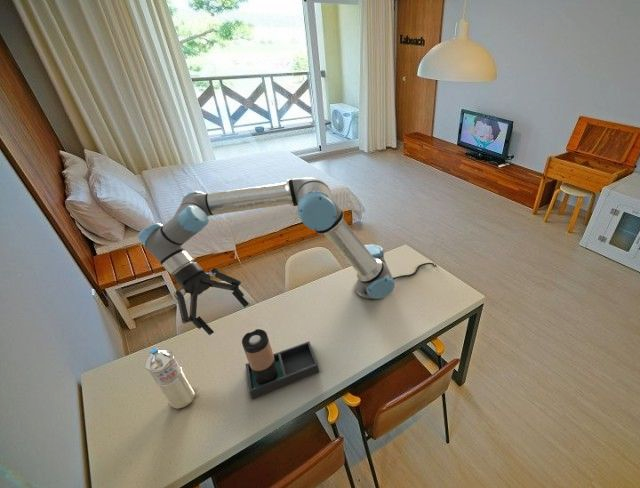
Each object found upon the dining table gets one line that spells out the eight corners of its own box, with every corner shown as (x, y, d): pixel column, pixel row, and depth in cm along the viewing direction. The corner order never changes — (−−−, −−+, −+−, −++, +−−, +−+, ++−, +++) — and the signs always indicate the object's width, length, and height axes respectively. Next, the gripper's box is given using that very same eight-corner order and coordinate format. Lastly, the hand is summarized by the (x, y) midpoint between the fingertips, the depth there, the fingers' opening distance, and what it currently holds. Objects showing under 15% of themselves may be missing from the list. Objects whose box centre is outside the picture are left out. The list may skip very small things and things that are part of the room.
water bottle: (169, 413, 100) (136, 364, 86) (173, 394, 105) (141, 344, 92) (194, 405, 103) (165, 356, 89) (196, 386, 108) (169, 337, 94)
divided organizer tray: (310, 348, 122) (309, 341, 120) (319, 372, 114) (317, 364, 112) (248, 371, 113) (245, 364, 111) (252, 399, 105) (249, 391, 103)
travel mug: (271, 388, 107) (258, 350, 96) (250, 383, 109) (235, 345, 97) (282, 368, 114) (272, 331, 102) (263, 364, 115) (250, 326, 104)
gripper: (214, 252, 111) (255, 298, 115) (140, 296, 93) (191, 349, 96) (221, 244, 107) (263, 292, 110) (144, 288, 88) (198, 345, 91)
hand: (230, 319), depth 103 cm, fingers open, 13 cm apart
